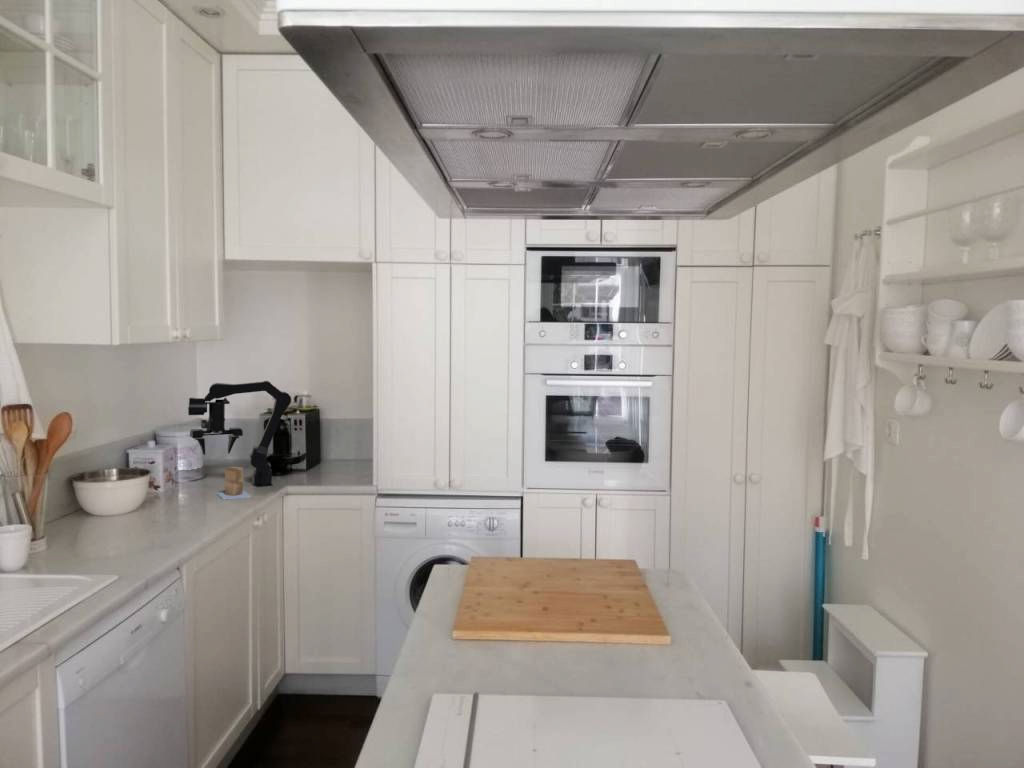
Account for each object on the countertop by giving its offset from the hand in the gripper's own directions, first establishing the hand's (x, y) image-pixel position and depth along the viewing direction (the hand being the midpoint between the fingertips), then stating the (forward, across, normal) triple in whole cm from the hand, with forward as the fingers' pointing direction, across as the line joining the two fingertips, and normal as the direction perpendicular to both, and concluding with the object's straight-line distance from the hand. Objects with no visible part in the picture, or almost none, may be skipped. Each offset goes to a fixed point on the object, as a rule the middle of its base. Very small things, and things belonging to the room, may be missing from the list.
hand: (216, 454), depth 283 cm
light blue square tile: (+13, -2, +19) cm, 23 cm away
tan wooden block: (+12, -2, +19) cm, 23 cm away
